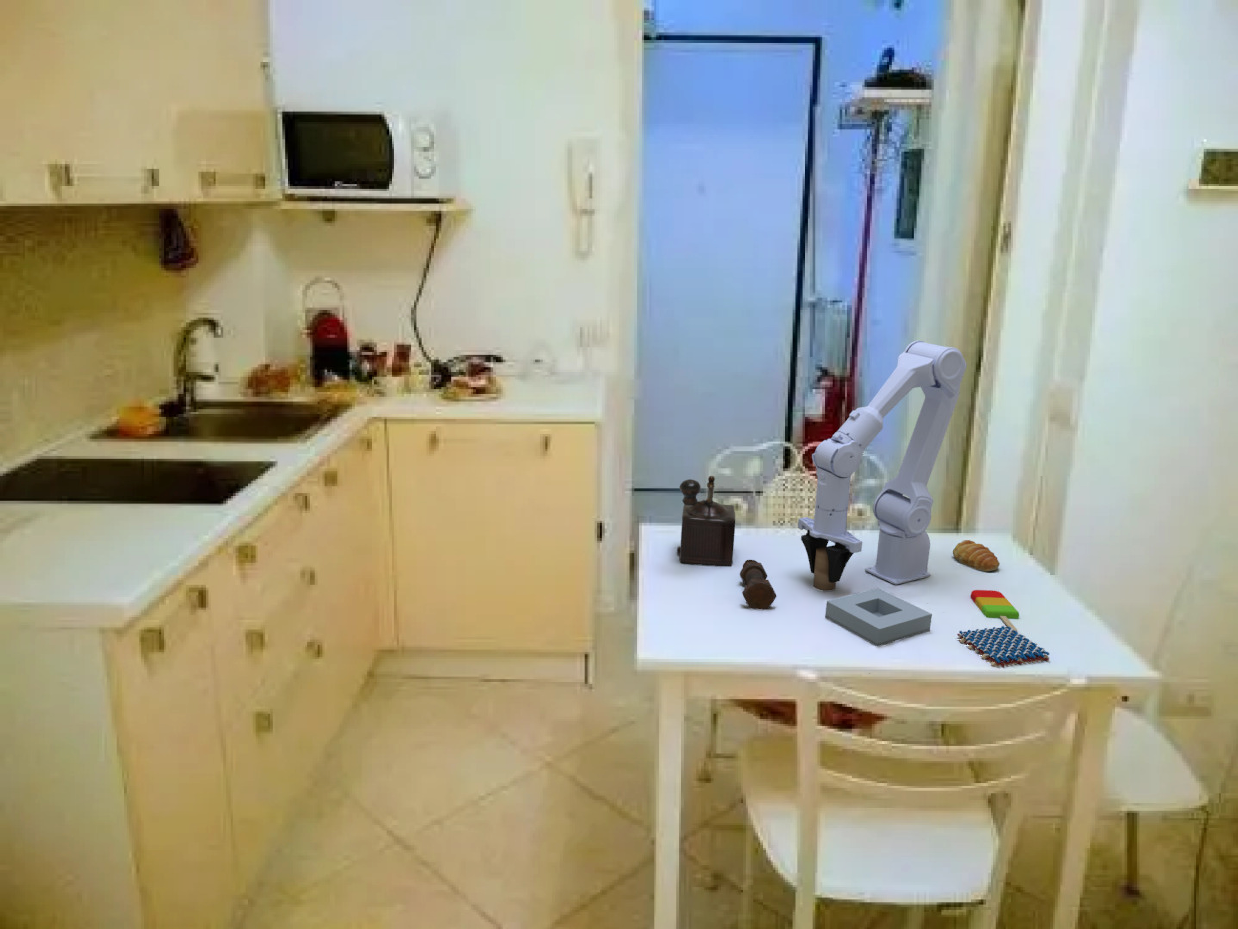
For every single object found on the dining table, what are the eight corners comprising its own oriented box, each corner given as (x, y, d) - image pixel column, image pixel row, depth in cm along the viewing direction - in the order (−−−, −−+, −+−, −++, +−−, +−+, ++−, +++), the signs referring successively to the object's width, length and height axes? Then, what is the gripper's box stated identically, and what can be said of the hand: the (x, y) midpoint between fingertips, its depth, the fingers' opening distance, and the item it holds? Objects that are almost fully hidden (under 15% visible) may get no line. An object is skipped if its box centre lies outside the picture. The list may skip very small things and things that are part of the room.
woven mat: (1006, 634, 151) (1008, 623, 150) (1051, 664, 141) (1053, 652, 140) (952, 640, 148) (953, 629, 148) (994, 671, 138) (995, 659, 138)
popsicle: (998, 599, 164) (1000, 590, 164) (1031, 637, 150) (1032, 626, 150) (968, 598, 165) (969, 588, 164) (997, 635, 150) (999, 625, 150)
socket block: (876, 603, 160) (877, 587, 159) (929, 630, 150) (932, 614, 149) (825, 617, 154) (826, 601, 153) (877, 646, 144) (879, 629, 143)
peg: (824, 580, 170) (828, 545, 168) (840, 588, 166) (843, 552, 164) (808, 584, 168) (811, 549, 166) (823, 592, 164) (826, 556, 162)
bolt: (753, 585, 172) (762, 617, 157) (731, 571, 171) (738, 602, 157) (770, 560, 170) (781, 590, 156) (748, 547, 170) (756, 575, 155)
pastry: (1007, 571, 176) (1010, 553, 175) (979, 576, 174) (981, 557, 173) (974, 554, 185) (977, 537, 184) (947, 558, 183) (949, 540, 182)
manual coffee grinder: (677, 544, 186) (681, 460, 181) (732, 547, 185) (737, 462, 180) (675, 573, 171) (678, 482, 166) (734, 577, 170) (739, 485, 165)
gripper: (787, 498, 167) (782, 567, 170) (843, 521, 155) (836, 595, 158) (816, 493, 170) (810, 560, 174) (873, 515, 158) (866, 587, 162)
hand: (825, 576), depth 166 cm, fingers open, 4 cm apart
